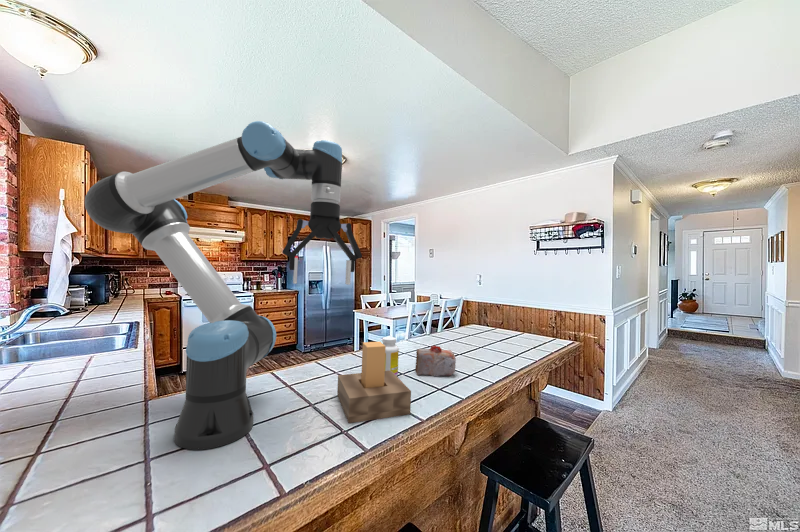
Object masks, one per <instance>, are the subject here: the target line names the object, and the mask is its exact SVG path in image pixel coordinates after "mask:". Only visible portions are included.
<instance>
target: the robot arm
mask: <svg viewBox="0 0 800 532" xmlns="http://www.w3.org/2000/svg"><path fill="white" fill-rule="evenodd" d="M262 169H263V170H264V172H265V173H266V175H267V176H268V177H269V178H273V179H279V180H305V181H306V180H307V181H310V180H311V188H310V189H311V192H310V200H311V201H312V202H311V203H310V211H309V212H310V213H309V214H310V216H309V220H304V219H302V218H298V219H297V221H296V223H297V224H296V228H295V229H294V231H293V233H292V235H291V236H290V238H289V239H288V241H287V243H286V245H285V246H284V248H283V249H282V252H281V253H282V254H283V255H285V256H287V257H289V266H288V268H289V270H290V271H293V278H292V279H293V281H292V283H293V284H294V285H295V284H298V265H299V258H298V257H296V256H297V255H298V254H299V252H301V250H303V248H305V246H307V244H308V243H310V241H311V240H312V239H313V238H314V237H316V239H325V240H326V239H327V240H330V239H333V240H334V241H335V243H337V245H338V246H339V247H340V248H341V250H342V251H343V252H344V254H345V255H346V256H347V258H348V260H346V259H345V260H346V261H345V264H346V265H345V285H348V286H350V285H351V278H352V277H351V274H352V273H354V272H355V271H356V269H355V266H356V260H359V259H361V258H362V257H363V255H362V252H361V250H360V247H359V245H358V243H357V241H356V238H355V236H354V233H353V231H352V230H353V229H352V223H350V222H348V223H341V222H340V218H341V214H340V213H341V206H340V203H341V195H342V192H341V189H342V188H341V187H342V175H343V174H342V173H343V172H342V171H343V148H342V147H341V145H340V144H339V143H336V142H334V141H332V140H328V139H327V140H326V139H325V140H324V139H322V140H316V141H315V142H314V143H313V145H312V149H295V148H294V147H293V146H292V144H290V143H289V142H288V141H287V140H286V138H285V137H284V135H282V132H281V131H279V130H278V129H277V128H275V127H274V126H273V125H272V124H270V123H268V122H265V121H260V120H256V121H252V122H249V124H247V126H245V128H244V129H243V131H242V132H241V136H238V137H235V138H233V139H230V140H228V141H225V142H222V143H218V144H216V145H212V146H210V147H207V148H204V149H201V150H198V151H196V152H192V153H190V154H187V155H184V156H181V157H177V158H175V159H172V160H170V161H169V160H168V161H167V162H164V163H160V164H158V165H155V166H151V167H148V168H146V169H143V170H140V171H138V172H134V173H132V172H129V171H120V172H118V173H115V174H112V175H109V176H107V177H104V178H102V179H100V180H98V181H97V182H95V183H94V184H93V185H92V186H91V187H90V188H89V189H88V191H87V192H86V195H84V196H85V198H84V208H85V210H86V213H87V215H88V216H89V217H90V219H91V220H92V221H93V222H94V223H96V225H97V226H100V227H101V228H103V229H105V230H108V231H111V232H115V233H121V234H129V235H131V234H132V235H133V236H134V237H135V238H136V240H137V241H138V243H140V245H141V246H142V248H144V249H145V250H147V251H154V252H155V253H156V255H157V256H158V257H159V259H160V260H161V261H162V262H163V263H164V265H165V267H166V268H167V269H168V270H169V271H170V273H171V274H172V275H173V277H174V278H175V279H176V281H177V282H178V283H179V284H180V286H181V287H182V289H183V290H184V291H185V292H186V294H187V295H188V296H189V298H190V299H191V301H193V303H194V304H195V305H196V306H197V308H198V309H199V311H200V312H201V313H202V315H203V316H204V317H205V319H206V320H207V321H208V323H203V324H201V325H198V326H197V327H195V328H193V329H192V330H191V331H190V332H189V334H188V336H187V344H186V347H185V354H186V365H185V367H186V369H185V401H184V404H183V406H182V409H181V411H180V415H179V417H178V419H177V423H176V425H175V428H174V438H173V439H174V440H173V441H174V443H175V444H176V445H177V446H178V447H180V448H182V449H185V450H186V449H187V450H208V449H214V448H219V447H221V446H222V447H223V446H226V445H228V444H231V443H233V442H236V441H237V440H239V439H241V438H243V437H245V436H246V435H247V434H248V433H249V432H250V431H251V430H252V428H253V426H254V412H253V409H252V407H251V406H252V405H251V404H250V400H249V397H248V395H247V369H248V368H250V367H252V366H253V365H254V364H257V363H258V362H259V361H261V360H263V359H264V358H265V357H267V356H268V354H269V353H271V351H272V350H273V348H274V347H275V344H276V340H277V331H276V327H275V326H274V324H273V322H272V321H271V320H270V319H269V318H268V317H266V316H262V315H258V314H257V312H256V311H255V310H254V308H253V307H252V306H251V305H250V304H245V303H241V301H240V300H239V299H238V298H237V296H236V295H235V294H234V293H233V291H232V290H231V289H230V287H229V286H228V285H227V283H226V282H225V280H224V278H222V277H221V275H220V274H219V273H218V271H217V270H216V269H215V268H214V266H213V265H212V263H211V262H210V261H209V260H208V257H206V256H205V254H204V253H203V251H201V249H200V248H199V246H198V245H197V244H196V243H195V241H194V240H193V239H192V237H191V236H190V235H189V233H190V229H191V227H190V225H189V223H188V220H187V219H188V213H187V211H186V209H185V207H184V206H183V205H182V204H181V202H180V201H178V200H176V199H178V198H181V197H185V196H187V195H190V194H192V193H196V192H199V191H202V190H205V189H207V188H209V187H213V186H216V185H219V184H222V183H224V182H227V181H229V180H233V179H236V178H239V177H241V176H244V175H247V174H251V173H253V172H257V171H260V170H262ZM306 226H308V228H309V229H310V232H309V234H308V235H307V236H306V237H305V238H304V239H303V240H302V241H301V242H300V243H299V244H298V245H297V246H296V247H295V248H293V250H292V251H290V250H291V248H292V246H293V244H294V243H295V241H296V240H297V238H298V236H299V234H300V232H301V231H302V229H305V228H306ZM341 229H342V230H343V232H345V234H346V238H347V240H348V242H349V244H350V246H351V249H352V251H353V252H352V251H351V249H350V248H349V247H348V245H347V244H346V243H345V242H344V240H343V239H342V237H341V235H340V234H339V233H338V232H339V231H341Z"/></svg>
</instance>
